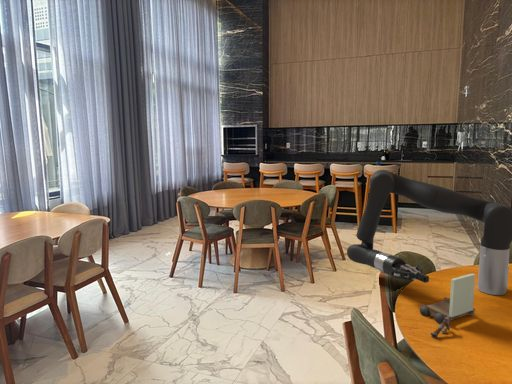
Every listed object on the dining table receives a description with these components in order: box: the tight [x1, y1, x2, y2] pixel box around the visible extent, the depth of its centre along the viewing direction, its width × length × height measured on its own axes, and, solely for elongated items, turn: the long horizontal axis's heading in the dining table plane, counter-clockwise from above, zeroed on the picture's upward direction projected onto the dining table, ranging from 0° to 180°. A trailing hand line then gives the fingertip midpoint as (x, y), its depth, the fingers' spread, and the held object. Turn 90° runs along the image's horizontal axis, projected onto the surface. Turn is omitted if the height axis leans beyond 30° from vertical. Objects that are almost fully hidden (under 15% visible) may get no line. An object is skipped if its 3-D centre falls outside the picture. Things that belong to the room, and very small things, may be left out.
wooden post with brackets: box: [430, 318, 451, 340], centre depth 113 cm, size 2×8×4 cm, turn 123°
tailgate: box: [449, 273, 476, 317], centre depth 119 cm, size 10×1×12 cm, turn 117°
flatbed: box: [419, 296, 476, 325], centre depth 124 cm, size 14×10×3 cm
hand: (427, 279), depth 130 cm, fingers closed
